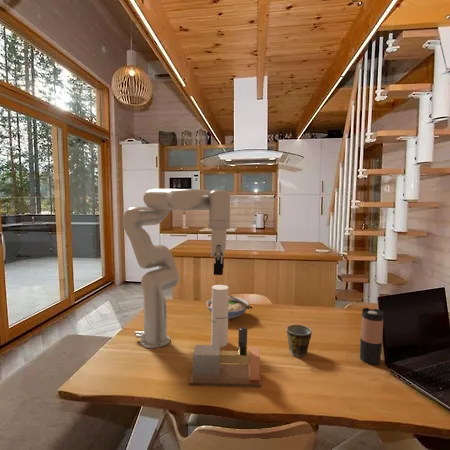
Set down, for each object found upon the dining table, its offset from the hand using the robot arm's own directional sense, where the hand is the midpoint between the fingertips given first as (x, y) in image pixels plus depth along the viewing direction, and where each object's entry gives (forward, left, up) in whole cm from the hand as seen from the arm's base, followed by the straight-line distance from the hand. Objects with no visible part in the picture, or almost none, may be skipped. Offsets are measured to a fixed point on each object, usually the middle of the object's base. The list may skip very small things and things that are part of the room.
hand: (218, 271), depth 109 cm
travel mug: (+60, +7, -36) cm, 71 cm away
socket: (+13, -6, -35) cm, 38 cm away
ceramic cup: (+32, +10, -36) cm, 50 cm away
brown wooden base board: (+3, -6, -36) cm, 37 cm away
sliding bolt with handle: (+6, -6, -31) cm, 32 cm away
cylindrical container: (0, +18, -36) cm, 41 cm away
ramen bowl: (+3, +48, -36) cm, 60 cm away
